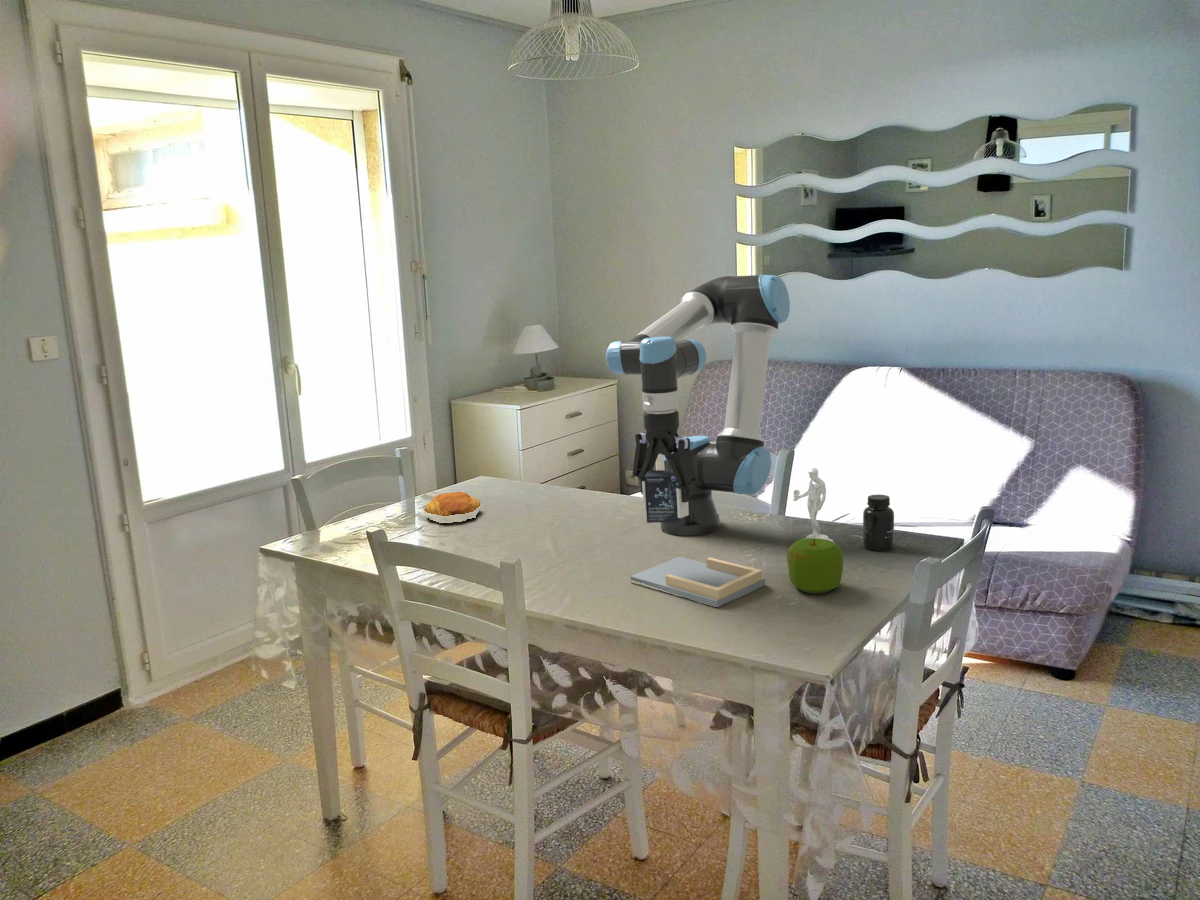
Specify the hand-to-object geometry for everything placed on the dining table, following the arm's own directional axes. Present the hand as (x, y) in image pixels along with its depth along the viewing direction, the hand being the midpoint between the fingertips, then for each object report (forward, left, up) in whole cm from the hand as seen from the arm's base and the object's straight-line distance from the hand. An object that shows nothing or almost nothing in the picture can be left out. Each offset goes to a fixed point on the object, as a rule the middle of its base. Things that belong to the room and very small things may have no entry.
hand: (665, 512), depth 206 cm
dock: (+8, 0, -15) cm, 17 cm away
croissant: (-81, -1, -15) cm, 82 cm away
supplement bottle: (+26, +43, -15) cm, 52 cm away
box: (0, 0, -2) cm, 2 cm away
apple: (+29, +13, -15) cm, 35 cm away
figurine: (+12, +38, -15) cm, 43 cm away
